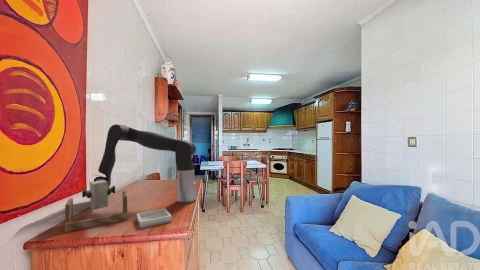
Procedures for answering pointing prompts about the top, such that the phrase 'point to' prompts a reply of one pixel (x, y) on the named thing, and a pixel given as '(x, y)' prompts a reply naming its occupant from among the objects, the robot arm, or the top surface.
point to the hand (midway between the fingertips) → (98, 194)
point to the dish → (153, 218)
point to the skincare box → (98, 194)
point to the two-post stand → (94, 221)
